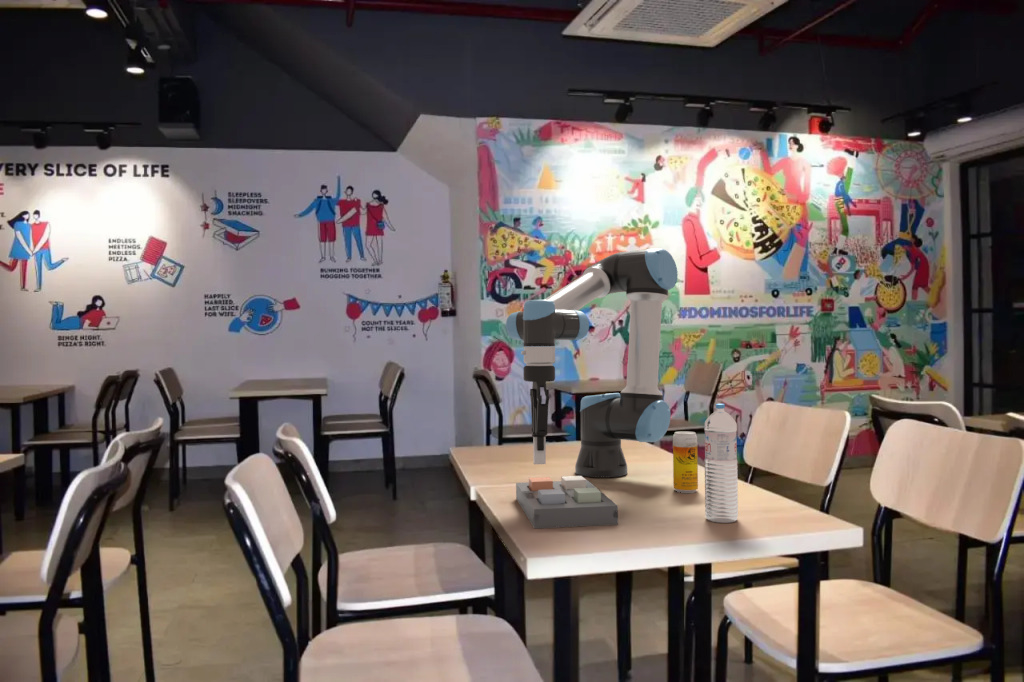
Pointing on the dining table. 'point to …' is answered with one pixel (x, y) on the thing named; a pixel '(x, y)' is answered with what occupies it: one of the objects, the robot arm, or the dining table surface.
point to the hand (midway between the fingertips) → (539, 463)
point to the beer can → (685, 462)
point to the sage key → (587, 495)
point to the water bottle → (721, 467)
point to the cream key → (573, 482)
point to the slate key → (551, 496)
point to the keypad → (566, 509)
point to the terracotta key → (540, 483)
